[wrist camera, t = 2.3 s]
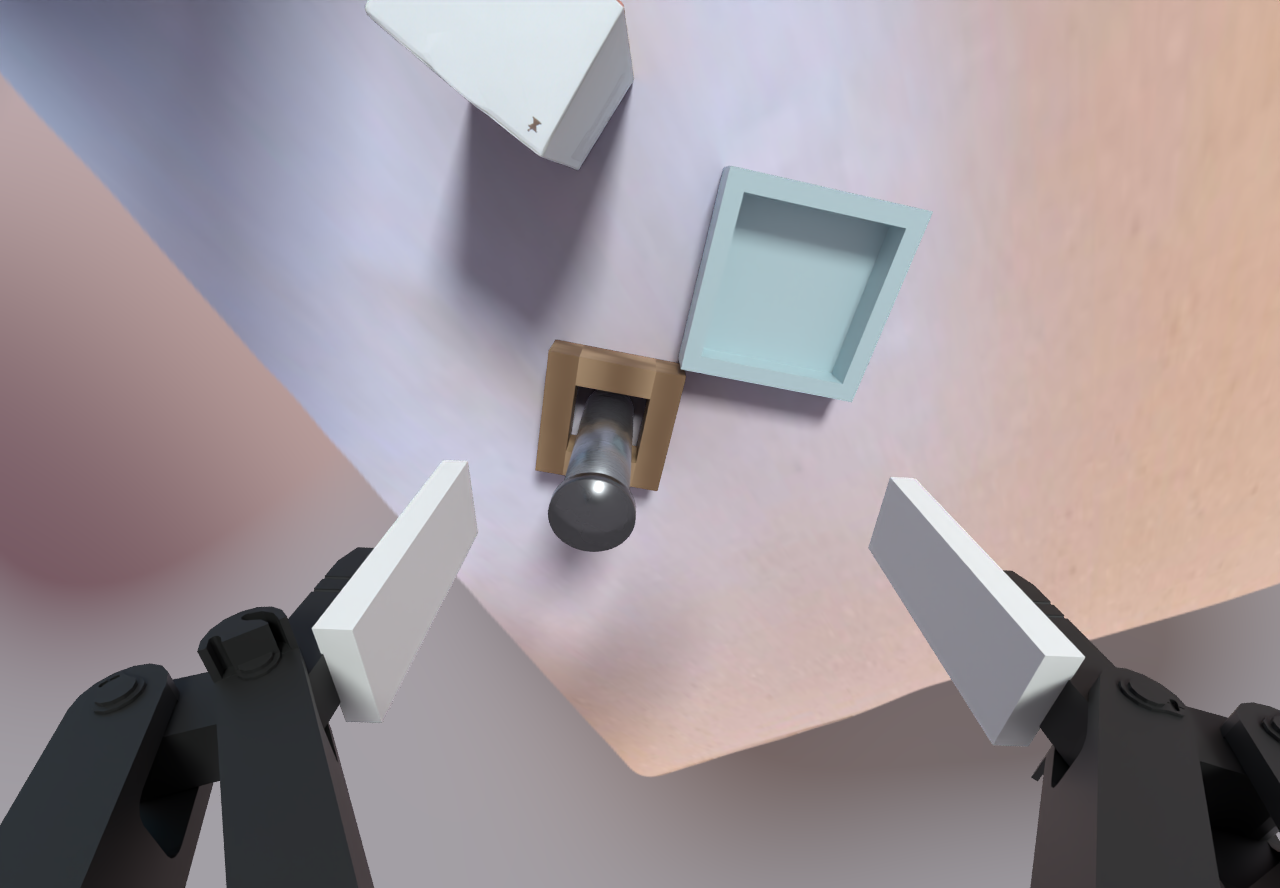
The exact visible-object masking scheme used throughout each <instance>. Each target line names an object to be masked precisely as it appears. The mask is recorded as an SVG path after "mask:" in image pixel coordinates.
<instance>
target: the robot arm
mask: <svg viewBox="0 0 1280 888" xmlns="http://www.w3.org/2000/svg"><path fill="white" fill-rule="evenodd" d="M477 534H478V530H477V523H476V515H475V508H474V501H473V494H472V487H471V480H470V472H469V465H468V461H455V460H443V461H442V462H441V463H440V465H439V466H438V467H437V469H436V470H435V471H434V472H433V474H432V475H431V476H430V478H429V479H428V480H427V481H426V483H425V484H424V485H423V487H422V488H421V489H420V490H419V492H418V493H417V494H416V496H415V497H414V498H413V499H412V501H411V502H410V503H409V504H408V506H407V507H406V508H405V510H404V511H403V512H402V513H401V515H400V516H399V517H398V519H397V520H396V521H395V522H394V524H393V525H392V526H391V528H390V529H389V530H388V531H387V533H386V534H385V535H384V537H383V538H382V539H381V540H380V542H379V543H378V544H377V546H376V547H375V548H360V547H358V548H356V549H355V550H353V551H352V552H350V553H349V554H347V555H346V556H344V557H343V558H341V559H340V560H338V561H337V563H336V564H335V565H334V566H333V567H332V568H331V569H330V571H329V572H328V573H327V574H326V575H325V579H322V580H321V581H320V582H319V583H318V585H317V586H316V587H315V588H314V592H311V593H310V594H309V595H308V596H307V598H306V599H305V600H304V601H303V602H302V603H301V605H300V606H299V607H298V608H297V609H296V610H295V612H294V613H293V614H292V615H291V616H290V617H289V619H288V618H287V616H286V615H285V613H284V612H283V611H282V610H280V609H278V608H274V607H256V608H253V609H249V610H245V611H242V612H240V613H237V614H235V615H233V616H231V617H229V618H227V619H225V620H223V621H222V622H220V623H219V624H218V625H216V626H215V627H213V628H212V629H211V630H210V631H209V632H208V633H207V634H206V635H205V637H204V638H203V639H202V640H201V641H200V645H199V648H198V651H197V652H198V653H199V656H200V657H201V659H202V661H203V663H204V665H205V667H206V669H207V671H208V672H206V673H201V674H197V675H193V676H188V677H183V678H179V679H174V680H172V678H171V676H170V675H169V673H168V671H167V670H166V669H165V668H164V667H163V666H161V665H155V664H144V665H138V666H133V667H130V668H127V669H124V670H121V671H119V672H116V673H114V674H112V675H110V676H108V677H106V678H105V679H103V680H101V681H99V682H97V683H96V684H94V685H93V686H92V687H90V688H89V689H88V690H87V691H85V692H84V693H83V694H81V695H80V696H79V697H78V698H77V699H76V701H75V702H74V703H73V704H72V705H71V707H70V708H69V709H68V711H67V712H66V714H65V716H64V717H63V719H62V721H61V722H60V724H59V726H58V728H57V729H56V731H55V733H54V734H53V736H52V738H51V740H50V741H49V743H48V745H47V746H46V748H45V750H44V751H43V753H42V755H41V757H40V759H39V760H38V762H37V763H36V765H35V767H34V769H33V770H32V772H31V774H30V775H29V777H28V779H27V781H26V782H25V784H24V786H23V787H22V789H21V791H20V792H19V794H18V796H17V798H16V799H15V801H14V803H13V804H12V806H11V808H10V810H9V811H8V813H7V815H6V816H5V818H4V820H3V821H2V823H1V825H0V888H185V886H186V881H187V878H188V875H189V871H190V867H191V864H192V860H193V856H194V852H195V849H196V845H197V841H198V838H199V834H200V830H201V826H202V823H203V819H204V815H205V811H206V808H207V804H208V801H209V797H210V793H211V790H212V786H213V782H217V781H220V788H221V803H222V820H223V836H224V851H225V868H226V885H227V888H374V886H373V882H372V878H371V875H370V871H369V867H368V864H367V860H366V856H365V852H364V849H363V845H362V841H361V837H360V834H359V830H358V827H357V823H356V819H355V815H354V811H353V808H352V804H351V801H350V797H349V793H348V789H347V785H346V782H345V778H344V774H343V771H342V767H341V763H340V760H339V756H338V752H337V749H336V745H335V741H334V737H333V734H332V730H331V727H330V725H329V721H330V719H331V717H332V716H333V714H334V712H335V711H336V709H337V707H338V706H339V704H340V707H341V709H342V712H343V715H344V718H345V720H346V722H372V723H382V721H383V720H384V718H385V716H386V714H387V712H388V710H389V707H390V706H391V704H392V702H393V700H394V698H395V696H396V694H397V692H398V690H399V688H400V686H401V684H402V682H403V680H404V678H405V676H406V674H407V672H408V670H409V668H410V666H411V664H412V662H413V660H414V658H415V656H416V654H417V652H418V650H419V648H420V646H421V645H422V643H423V641H424V639H425V637H426V635H427V633H428V630H429V629H430V627H431V625H432V623H433V621H434V619H435V617H436V615H437V613H438V611H439V609H440V607H441V605H442V603H443V601H444V599H445V597H446V595H447V593H448V591H449V589H450V587H451V585H452V583H453V581H454V579H455V577H456V575H457V573H458V571H459V570H460V568H461V566H462V564H463V562H464V560H465V558H466V556H467V554H468V552H469V550H470V548H471V546H472V544H473V542H474V540H475V538H476V536H477ZM868 548H869V550H870V551H871V553H872V554H873V556H874V558H875V559H876V561H877V562H878V564H879V565H880V567H881V569H882V570H883V572H884V573H885V575H886V577H887V578H888V580H889V581H890V583H891V584H892V586H893V588H894V589H895V591H896V592H897V594H898V596H899V597H900V599H901V600H902V602H903V603H904V605H905V607H906V608H907V610H908V611H909V613H910V615H911V616H912V618H913V619H914V621H915V623H916V624H917V626H918V627H919V629H920V630H921V632H922V634H923V635H924V637H925V638H926V640H927V642H928V643H929V645H930V646H931V648H932V649H933V651H934V653H935V654H936V656H937V657H938V659H939V661H940V662H941V664H942V665H943V667H944V668H945V670H946V672H947V673H948V675H949V676H950V678H951V680H952V681H953V683H954V684H955V686H956V687H957V689H958V691H959V692H960V694H961V695H962V697H963V699H964V700H965V701H966V703H967V705H968V706H969V708H970V710H971V711H972V713H973V714H974V716H975V717H976V719H977V721H978V722H979V724H980V726H981V727H982V729H983V730H984V732H985V733H986V735H987V737H988V738H989V740H990V741H991V743H992V744H993V745H1003V746H1004V745H1005V746H1029V745H1030V743H1031V741H1032V740H1033V738H1034V737H1035V735H1036V734H1037V732H1038V731H1039V729H1040V728H1041V729H1042V731H1043V732H1044V733H1045V735H1046V736H1047V738H1049V740H1050V742H1051V743H1052V744H1053V745H1052V746H1051V748H1050V749H1049V751H1048V752H1047V754H1046V755H1045V757H1044V758H1043V760H1042V761H1041V763H1040V764H1039V766H1038V767H1037V769H1036V770H1035V772H1034V774H1033V775H1032V778H1033V779H1035V780H1037V781H1038V780H1039V779H1040V777H1041V776H1042V775H1044V777H1043V786H1042V794H1041V802H1040V811H1039V819H1038V829H1037V836H1036V845H1035V853H1034V863H1033V870H1032V879H1031V888H1280V841H1279V839H1278V837H1277V836H1276V833H1277V832H1280V710H1277V709H1275V708H1272V707H1270V706H1266V705H1261V704H1257V703H1242V704H1240V705H1239V706H1238V707H1237V709H1236V710H1235V711H1234V712H1233V713H1232V714H1231V715H1230V716H1229V718H1226V717H1223V716H1220V715H1216V714H1212V713H1209V712H1205V711H1202V710H1198V709H1194V708H1190V707H1187V706H1185V705H1184V703H1182V701H1181V700H1180V699H1179V698H1178V697H1177V696H1176V695H1175V694H1173V693H1172V692H1171V691H1169V690H1168V689H1167V688H1165V687H1164V686H1163V685H1161V684H1160V683H1158V682H1156V681H1154V680H1152V679H1150V678H1148V677H1147V676H1145V675H1143V674H1139V673H1137V672H1134V671H1131V670H1128V669H1124V668H1116V667H1115V666H1114V665H1113V664H1112V663H1111V662H1110V661H1109V660H1108V659H1107V658H1106V657H1105V656H1104V655H1103V654H1102V653H1101V652H1100V651H1099V650H1098V649H1097V648H1096V647H1095V646H1094V645H1093V644H1092V643H1091V642H1090V641H1089V640H1088V639H1087V638H1086V637H1085V636H1084V635H1083V634H1082V633H1081V632H1080V631H1079V630H1078V629H1077V628H1076V627H1075V626H1074V625H1073V624H1072V623H1071V622H1070V621H1069V620H1068V619H1065V618H1064V615H1063V614H1062V613H1061V612H1060V611H1059V610H1058V609H1057V608H1056V607H1055V606H1054V605H1051V604H1050V601H1049V600H1048V599H1047V598H1046V597H1045V596H1044V595H1043V594H1042V593H1041V592H1040V591H1039V590H1038V589H1037V588H1036V587H1035V586H1034V585H1033V584H1031V583H1030V582H1028V581H1027V580H1025V579H1024V578H1022V577H1021V576H1019V575H1018V574H1016V573H1015V572H1013V571H1004V570H1002V569H1001V568H1000V567H999V566H998V565H997V564H996V563H995V562H994V561H993V560H992V559H991V558H990V556H989V555H988V554H987V553H986V552H985V551H984V550H983V549H982V548H981V547H980V546H979V545H978V544H977V543H976V542H975V541H974V540H973V539H972V538H971V537H970V536H969V534H968V533H967V532H966V531H965V530H964V529H963V528H962V527H961V526H960V525H959V524H958V523H957V522H956V521H955V520H954V519H953V518H952V517H951V516H950V515H949V513H948V512H947V511H946V510H945V509H944V508H943V507H942V506H941V505H940V504H939V503H938V502H937V501H936V500H935V499H934V498H933V497H932V496H931V495H930V494H929V493H928V491H927V490H926V489H925V488H924V487H923V486H922V485H921V484H920V483H919V482H918V481H917V480H916V479H915V478H899V477H890V479H889V483H888V486H887V489H886V492H885V496H884V499H883V502H882V505H881V509H880V512H879V515H878V518H877V521H876V525H875V528H874V531H873V534H872V538H871V541H870V544H869V547H868Z"/></svg>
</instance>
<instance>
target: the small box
mask: <svg viewBox="0 0 1280 888" xmlns="http://www.w3.org/2000/svg"><path fill="white" fill-rule="evenodd" d="M365 11H366V13H367V15H368V16H369V17H370V18H371V19H372V20H373V21H374V22H375V23H377V24H378V25H379V26H380V27H381V28H382V29H384V30H385V31H386V32H387V33H388V34H389V35H391V36H392V37H393V38H394V39H395V40H397V41H398V42H399V43H400V44H401V45H403V46H404V47H405V48H406V49H407V50H408V51H410V52H411V53H412V54H413V55H414V56H416V57H417V58H418V59H419V60H420V61H422V62H423V63H424V64H425V65H426V66H427V67H429V68H430V69H431V70H432V71H433V72H435V73H436V74H437V75H438V76H439V77H440V78H442V79H443V80H444V81H445V82H446V83H447V84H449V85H450V86H451V87H452V88H453V89H454V90H456V91H457V92H458V93H459V94H460V95H462V96H463V97H464V98H465V99H467V100H468V101H469V102H470V103H471V104H472V105H474V106H475V107H476V108H478V109H479V110H481V111H482V112H484V113H485V114H486V115H487V116H489V117H490V118H491V119H493V120H494V121H495V122H497V123H498V124H499V125H500V126H501V127H503V128H504V129H505V130H506V131H508V132H509V133H510V134H511V135H513V136H514V137H515V138H516V139H518V140H519V141H520V142H521V143H523V144H524V145H525V146H527V147H528V148H529V149H530V150H532V151H533V152H534V153H535V154H537V155H538V156H540V157H542V158H545V159H548V160H550V161H553V162H556V163H559V164H562V165H566V166H568V167H571V168H573V169H575V170H579V169H580V167H581V165H582V164H583V162H584V160H585V159H586V157H587V156H588V154H589V152H590V151H591V149H592V147H593V146H594V144H595V142H596V141H597V139H598V138H599V136H600V134H601V133H602V131H603V129H604V128H605V126H606V124H607V123H608V121H609V120H610V118H611V116H612V115H613V113H614V112H615V110H616V108H617V107H618V105H619V104H620V102H621V100H622V99H623V97H624V95H625V94H626V92H627V90H628V89H629V87H630V86H631V84H632V82H633V80H634V75H633V68H632V60H631V54H630V46H629V40H628V33H627V26H626V18H625V11H624V5H623V4H622V2H621V1H620V0H368V1H367V3H366V6H365Z"/></svg>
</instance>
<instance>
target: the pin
mask: <svg viewBox="0 0 1280 888" xmlns="http://www.w3.org/2000/svg"><path fill="white" fill-rule="evenodd" d="M633 419H634V407H633V403H632V401H631V399H630V398H629V396H628V395H625V394H619V393H614V392H609V391H603V390H596V391H595V392H593V393H592V394H591V395H590V396H589V398H588V399H587V402H586V405H585V408H584V412H583V415H582V419H581V422H580V426H579V429H578V433H577V437H576V440H575V444H574V447H573V451H572V454H571V458H570V461H569V465H568V469H567V472H566V476H565V479H564V481H563V482H562V483H561V484H560V485H559V486H558V487H557V488H556V490H555V491H554V493H553V496H552V499H551V502H550V505H549V510H548V518H549V523H550V526H551V528H552V530H553V531H554V533H555V534H556V535H557V537H558V538H560V539H561V540H562V541H563V542H564V543H566V544H568V545H569V546H571V547H573V548H576V549H579V550H583V551H590V552H598V551H605V550H609V549H612V548H614V547H616V546H618V545H620V544H621V543H623V542H624V541H625V540H626V539H627V538H628V537H629V536H630V534H631V533H632V531H633V528H634V525H635V519H636V506H635V501H634V498H633V496H632V494H631V492H630V476H631V457H632V438H633Z"/></svg>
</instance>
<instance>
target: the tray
mask: <svg viewBox="0 0 1280 888" xmlns="http://www.w3.org/2000/svg"><path fill="white" fill-rule="evenodd" d="M932 213H933V212H932V211H928V210H923V209H919V208H914V207H910V206H906V205H901V204H897V203H893V202H888V201H884V200H879V199H875V198H871V197H866V196H862V195H857V194H853V193H849V192H844V191H840V190H835V189H831V188H827V187H822V186H818V185H814V184H809V183H805V182H800V181H796V180H792V179H787V178H783V177H778V176H774V175H770V174H765V173H761V172H756V171H752V170H748V169H743V168H739V167H735V166H728V167H724V168H723V172H722V176H721V181H720V185H719V189H718V193H717V197H716V202H715V206H714V210H713V214H712V218H711V222H710V227H709V231H708V235H707V239H706V243H705V248H704V252H703V256H702V260H701V264H700V268H699V273H698V277H697V281H696V285H695V289H694V294H693V298H692V302H691V306H690V310H689V314H688V319H687V323H686V327H685V331H684V335H683V340H682V344H681V348H680V352H679V356H678V357H679V362H680V367H681V369H682V370H687V371H692V372H697V373H703V374H708V375H713V376H718V377H723V378H729V379H734V380H739V381H744V382H749V383H755V384H760V385H765V386H770V387H775V388H781V389H786V390H791V391H796V392H801V393H807V394H812V395H817V396H822V397H827V398H833V399H838V400H843V401H848V402H852V401H853V398H854V396H855V394H856V391H857V389H858V386H859V384H860V382H861V379H862V377H863V375H864V372H865V370H866V368H867V365H868V363H869V361H870V358H871V356H872V354H873V351H874V349H875V347H876V344H877V342H878V340H879V337H880V335H881V333H882V330H883V328H884V325H885V323H886V321H887V318H888V316H889V314H890V311H891V309H892V307H893V304H894V302H895V300H896V297H897V295H898V293H899V290H900V288H901V286H902V283H903V281H904V279H905V276H906V274H907V272H908V269H909V267H910V265H911V262H912V260H913V257H914V255H915V253H916V250H917V248H918V246H919V243H920V241H921V239H922V236H923V234H924V232H925V229H926V227H927V225H928V222H929V220H930V218H931V215H932Z"/></svg>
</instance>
